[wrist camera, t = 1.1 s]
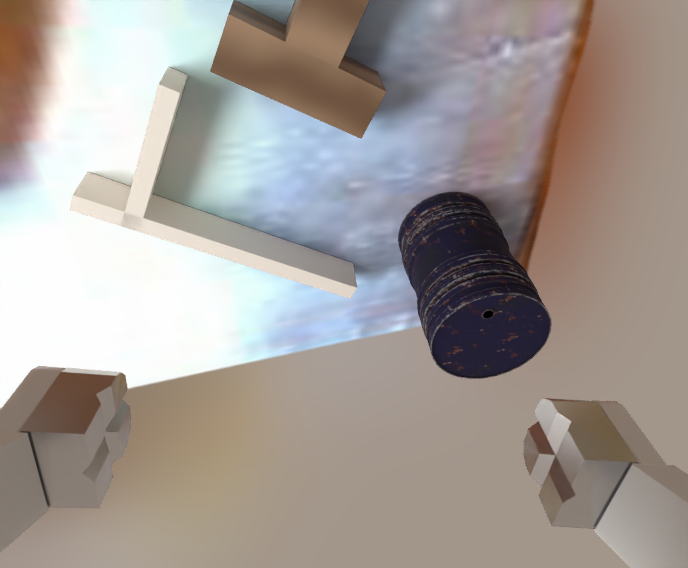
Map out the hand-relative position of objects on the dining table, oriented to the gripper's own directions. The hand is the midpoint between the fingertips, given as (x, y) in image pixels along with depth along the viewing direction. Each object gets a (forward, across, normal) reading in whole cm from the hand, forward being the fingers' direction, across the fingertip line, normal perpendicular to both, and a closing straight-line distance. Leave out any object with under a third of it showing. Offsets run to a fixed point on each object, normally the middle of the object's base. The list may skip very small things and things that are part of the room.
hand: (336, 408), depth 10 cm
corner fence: (+37, +6, +8) cm, 39 cm away
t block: (+35, +1, -6) cm, 36 cm away
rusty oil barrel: (+40, -13, +13) cm, 44 cm away
